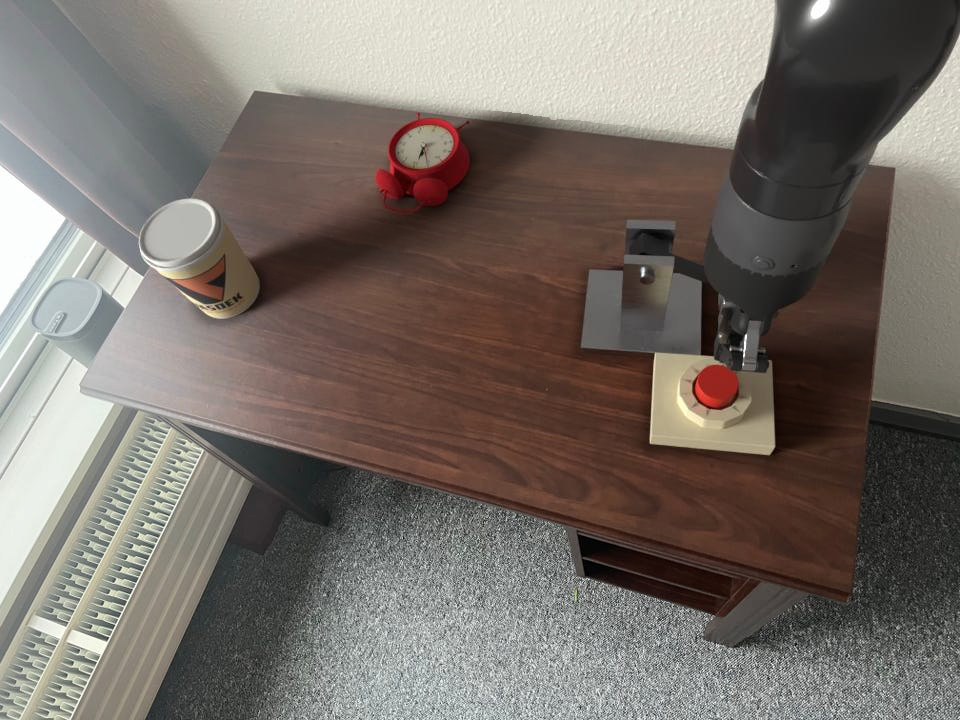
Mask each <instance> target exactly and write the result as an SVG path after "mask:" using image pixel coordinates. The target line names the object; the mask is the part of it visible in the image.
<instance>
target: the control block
mask: <svg viewBox="0 0 960 720" xmlns="http://www.w3.org/2000/svg"><path fill="white" fill-rule="evenodd" d="M768 361H769V368H767V372H766V373H757V372H744V371H733V372H734V373H735V374H736V376H737V378H738V381H739V386H738V390H737V392H736V394H735V397H734V399H733V401H732V402H731V403H730V404H729V405H727V406H725V407H722V408H711V407H708V406H706V405H704V404H703V403H701V402H700V401H699V399H698V398H697V396H696V393H695V385H696V382H697V379H698V375H699V373H700V372H701V371H702V370H703V369H704V368H705V367H707V366H710V365H723V366H726V365H725V364H724V363H719V361H716V360H715V359H714V355H702V354H701V355H686V354H671V353H657V352H656V353H655V358H653V369H652V370H653V371H652V389H651V408H650V427H649V428H650V429H649V444H650V445H659V446H670V447H680V448H690V449H700V450H701V449H702V450H711V451H721V452H733V453H734V452H735V453H742V454H743V453H744V454H754V455H764V456H771V454H772V453H773V451H774V450H775V448H776V428H775V427H776V426H775V404H774V402H775V401H774V376H773V373H774V372H773V360H771V359H768ZM726 367H727V366H726Z"/></svg>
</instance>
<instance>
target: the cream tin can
mask: <svg viewBox="0 0 960 720" xmlns="http://www.w3.org/2000/svg"><path fill="white" fill-rule="evenodd" d="M138 247H139V252H140V255H141V257H142V260H144V262H145V263H146V264H147V265H148V266H150V267H151V268H153V269H155V270H156V272H158V273H159V274H160V275H161V276H162V277H163V278H164V279H165V280H166V281H168V282H169V283H170V284H171V285H172V286H174V288H176V289H177V290H178V291H179V292H180V293H181V294H182V295H184V297H186V299H188V300H189V301H190V302H191V303H193V304H194V305H195V306H196V307H197V308H198V309H200V310H201V311H202V312H203V313H204V314H206V315H207V316H209V317H211V318H214V319H219V320H220V319H221V320H222V319H223V320H224V319H230V318H231V319H232V318H233V317H236V316H238V315H241V314H242V313H244V312H245V311H247V310H248V309H249V308H250V307H251V306H253V304H254V302H255V301H256V299H257V298H258V295H259V293H260V288H261V287H260V285H261V284H260V283H261V282H260V279H259V276H258V274H257V273H256V270H255V269H254V266H252V264H251V262H250V261H249V259H248V257H247V256H246V254H245V252H244V251H243V249H242V247H241V245H240V244H239V242H238V240H237V239H236V237H235V236H234V234H233V232H232V231H231V229H230V228H229V226H228V224H227V223H226V221H225V219H224V217H223V215H222V213H221V211H220V210H219V209H218V207H216V206H215V205H213V204H212V203H210V202H208V201H205V200H204V199H199V198H191V197H190V198H182V199H177V200H174V201H171V202H169V203H167V204H165V205H163V206H161V207H160V208H158V209H157V210H155V212H154V213H152V215H150V216H149V217H148V218H147V220H146V221H145V222H144V224H143V225H142V228H141V230H140V233H139V237H138Z"/></svg>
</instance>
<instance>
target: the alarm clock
mask: <svg viewBox="0 0 960 720" xmlns="http://www.w3.org/2000/svg"><path fill="white" fill-rule="evenodd" d="M416 116H417V119H415V120H412V121H409V122H408V123H406V124H404V125H403V126H401V127H400V128H399V129H398V130H397V131H396V132H395V133H394V134H393V135H392V137H391V139H390V141H389V144H388V148H387V149H388V151H387V154H388V155H387V156H388V160H389V162H390V165H389V171H388V170H387V169H384V168H380V169H378V170H377V171H376V172H375V177H374V179H375V184H376V185H377V187H378V189H379V193H380V194H383V197H382V204H383V205H384V207H385V208H387V210H390V211H393V212H395V213H403V214H409V213H415V212H416V211H419V209H420V208H422V206H427V207H436V206H440V205H442V204H444V202H445V201H446V200H447V198H448V193H449V191H450V190H452V189H453V188H455V187H457V185H459V184H460V183H461V182H462V181H463V180H464V178H465V177H466V175H467V174H468V171H469V169H470V164H471V159H470V153H469V150H468V148H467V146H466V145H465V143H463V141H462V139H461V135H460V133H459V131H460V130H461V129H463V128H464V127H465V126H466V125H470V123H471V122H470V120H466V121H465V123H463V124H462V125H460V126H459V127H457V128H456V127H455V125H453V124H452V123H451V122H450V121H449V122H448V121H447V120H444V119H443V118H442V119H441V118H437V117H425V118H420V116H421V113H420V112H416ZM405 194H406V195H409V196H413V197H414V199H415V200H416V201H417V203H419V205H418V206H417V207H416V208H414V209H410V210H409V209H407V210H402V209H396V208H394V207H393V208H392V207H390V206H389V205H388V204H387V202H386V197H387V198H389V199H392V200H397V201H398V200H400V199H403V197H404V196H405Z"/></svg>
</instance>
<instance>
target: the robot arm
mask: <svg viewBox="0 0 960 720" xmlns="http://www.w3.org/2000/svg"><path fill="white" fill-rule="evenodd" d="M771 33H772V35H771V40H770V46H769V53H768V58H767V62H766V69H765V73H764V77H763V79H762V80H760V82H759V83H758V84H757V85H756V87H755V88H754V90H753V91H752V92H751V94H750V96H749V98H748V100H747V102H746V105H745V107H744V110H743V113H742V115H741V120H740V123H739V126H738V130H737V134H736V138H735V143H734V146H733V151H732V155H731V159H730V162H729V166H728V169H727V170H726V173H725V175H724V177H723V180H722V181H721V184H720V187H719V190H718V194H717V196H716V202H715V205H714V210H713V215H712V218H711V222H710V227H709V232H708V235H707V238H706V244H705V247H704V251H703V252H704V253H703V259H702V262H703V263H702V265H703V266H704V271H705V274H706V276H707V279H708V281H709V282H710V284H711V285H710V284H709V285H710V286H711V287H712V288H713V289H714V290H715V291H716V292H717V293H718V310H719V313H718V318H717V322H718V323H717V324H718V328H717V333H716V336H715V339H714V343H713V356H714V359H715V360H716V361H719V363H724V364H725V365H726V366H727V368H728V369H729V370H731V371H744V372H757V373H766V372H767V368H769V361H768V360H769V357H768V355H766V348H765V347H760V346H759V343H760V337H764V336H766V335H767V334H768V333H769V332H770V330H771V327H772V322H773V320H774V319H777V318H778V316H779V314H780V313H781V310H782V309H784V308H786V307H789V306H791V305H793V304H795V303H797V302H798V301H800V300H801V299H803V298H804V297H805V296H806V295H807V294H809V292H810V291H811V290H812V288H813V287H814V286H815V284H816V282H817V280H818V278H819V276H820V274H821V272H822V269H823V268H824V266H825V264H826V262H827V260H828V258H829V256H830V254H831V252H832V250H833V248H834V246H835V244H836V242H837V240H838V238H839V236H840V234H841V232H842V230H843V228H844V226H845V224H846V221H847V219H848V217H849V214H850V210H851V207H852V203H853V199H854V197H855V194H856V191H857V189H858V188H859V185H860V183H861V181H862V179H863V178H864V175H865V173H866V171H867V168H868V166H869V165H870V162H871V160H872V159H873V156H874V154H875V152H876V150H877V148H878V146H879V143H880V142H881V141H882V140H883V139H884V138H885V137H886V136H887V135H888V134H890V132H891V131H893V130H894V128H896V126H897V125H898V124H899V123H900V122H901V120H902V119H903V118H904V117H905V116H906V115H907V114H908V113H909V111H910V110H912V108H913V107H914V106H915V105H916V104H917V102H918V101H919V100H920V99H921V98H922V97H923V96H924V95H925V93H926V92H927V91H928V89H930V87H931V86H932V85H933V83H934V82H935V81H936V79H937V78H938V77H939V75H940V73H941V72H942V70H943V69H944V68H945V66H946V64H947V62H948V61H949V58H950V57H951V54H952V52H953V51H954V49H955V46H956V45H957V42H958V40H959V37H960V0H774V9H773V26H772V32H771Z"/></svg>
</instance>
